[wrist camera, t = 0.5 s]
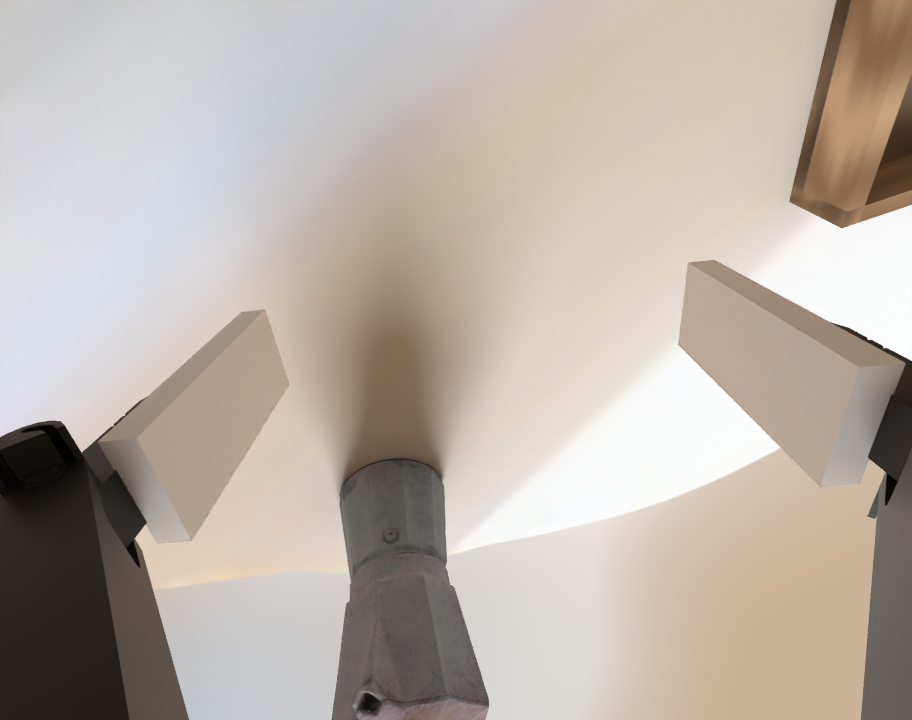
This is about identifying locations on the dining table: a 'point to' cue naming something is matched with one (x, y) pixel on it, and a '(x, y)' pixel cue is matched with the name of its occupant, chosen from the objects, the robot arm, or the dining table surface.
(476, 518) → the dining table surface
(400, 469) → the moka pot
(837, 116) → the cold frame
